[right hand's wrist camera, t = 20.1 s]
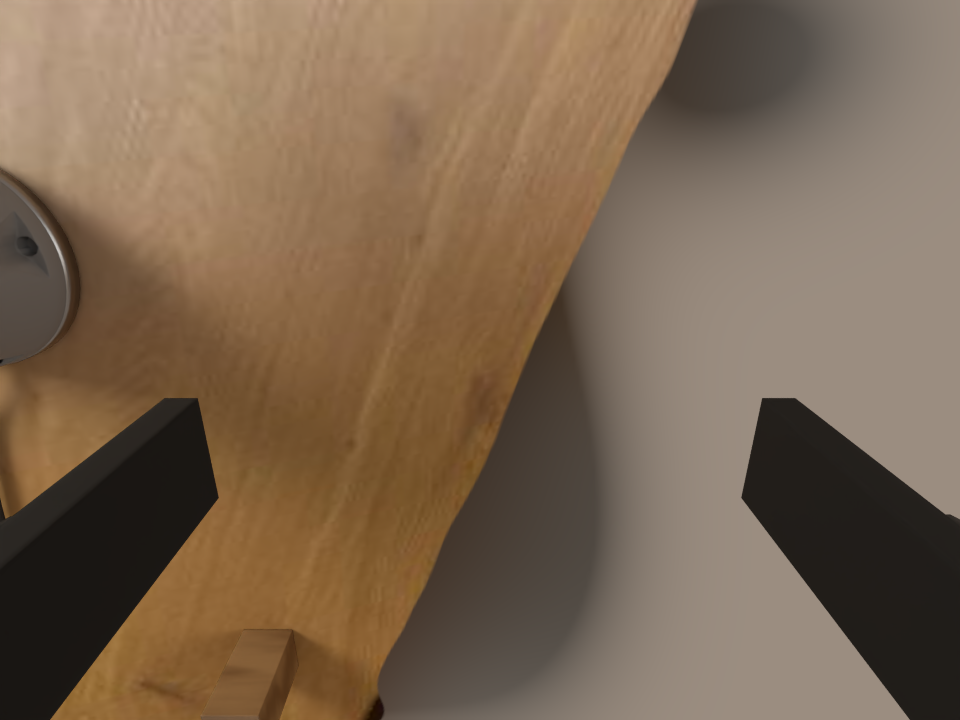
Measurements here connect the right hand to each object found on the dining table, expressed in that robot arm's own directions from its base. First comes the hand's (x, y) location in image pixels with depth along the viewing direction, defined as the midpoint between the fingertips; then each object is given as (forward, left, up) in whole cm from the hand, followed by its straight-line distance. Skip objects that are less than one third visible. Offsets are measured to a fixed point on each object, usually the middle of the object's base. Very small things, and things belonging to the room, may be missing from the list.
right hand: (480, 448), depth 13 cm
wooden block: (-44, -3, -28) cm, 53 cm away
